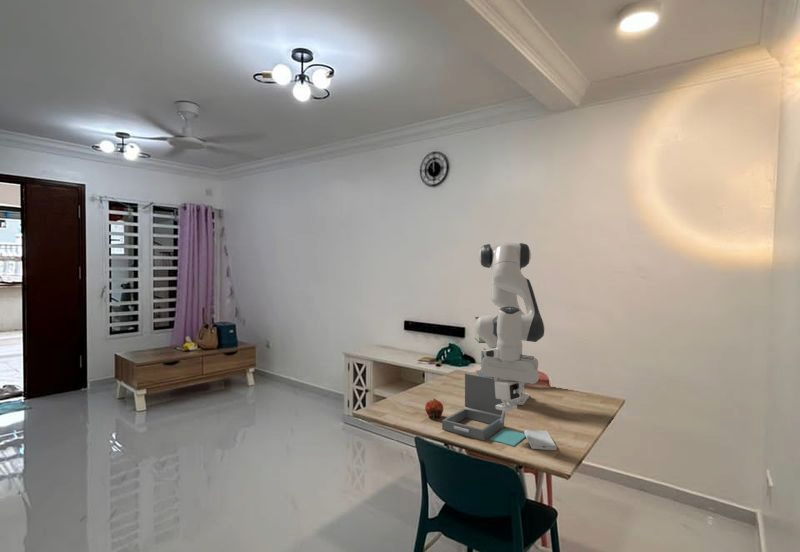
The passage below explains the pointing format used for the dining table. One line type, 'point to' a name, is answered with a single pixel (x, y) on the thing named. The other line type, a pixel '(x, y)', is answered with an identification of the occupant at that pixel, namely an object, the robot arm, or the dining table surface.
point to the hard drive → (540, 440)
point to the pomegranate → (434, 408)
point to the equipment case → (477, 409)
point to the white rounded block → (506, 394)
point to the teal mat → (508, 437)
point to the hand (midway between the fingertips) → (509, 391)
